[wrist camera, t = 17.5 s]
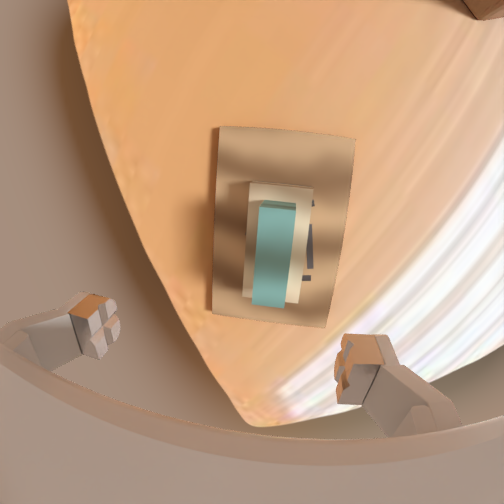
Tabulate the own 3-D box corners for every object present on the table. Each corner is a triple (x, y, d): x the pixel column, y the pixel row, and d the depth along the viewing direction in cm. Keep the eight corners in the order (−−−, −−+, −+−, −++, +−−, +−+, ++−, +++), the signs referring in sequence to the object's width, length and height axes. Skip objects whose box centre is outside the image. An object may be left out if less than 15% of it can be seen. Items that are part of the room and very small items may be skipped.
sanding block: (253, 180, 29) (242, 187, 23) (311, 186, 28) (316, 194, 22) (245, 286, 33) (234, 315, 27) (298, 293, 32) (297, 323, 26)
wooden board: (222, 126, 29) (219, 125, 28) (353, 139, 27) (355, 139, 26) (214, 309, 36) (212, 313, 35) (324, 324, 34) (325, 328, 33)
